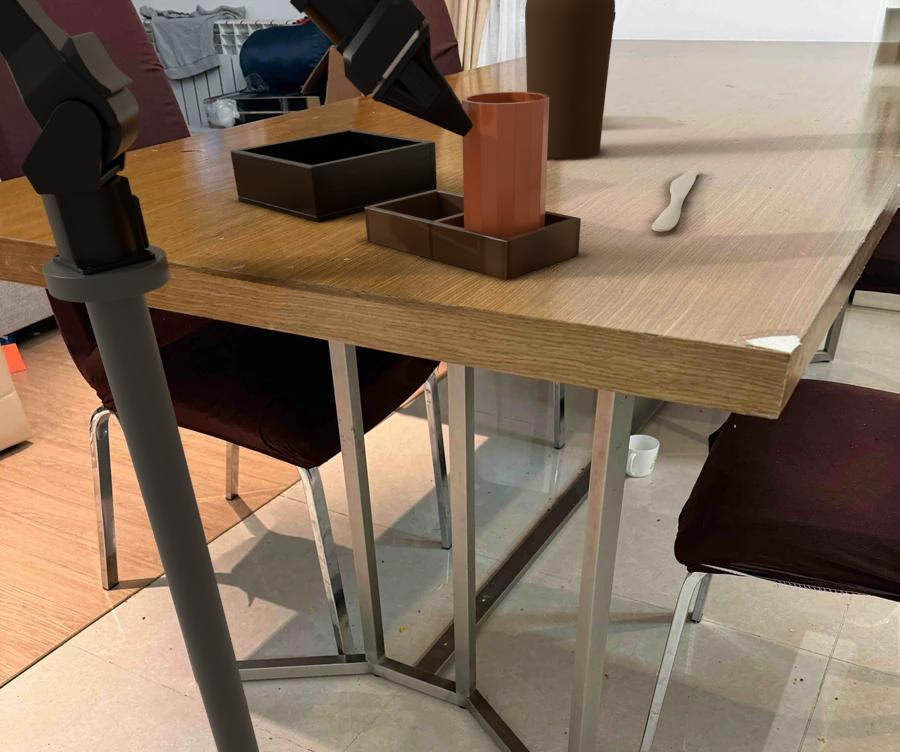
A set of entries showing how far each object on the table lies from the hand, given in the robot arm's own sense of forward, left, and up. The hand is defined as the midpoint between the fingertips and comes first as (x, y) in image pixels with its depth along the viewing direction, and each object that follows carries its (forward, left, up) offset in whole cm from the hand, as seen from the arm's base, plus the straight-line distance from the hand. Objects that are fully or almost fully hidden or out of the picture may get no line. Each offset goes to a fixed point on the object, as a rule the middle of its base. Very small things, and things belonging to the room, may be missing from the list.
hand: (463, 121), depth 67 cm
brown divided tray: (+3, +2, -10) cm, 11 cm away
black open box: (+8, +28, -10) cm, 31 cm away
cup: (+3, -2, -10) cm, 11 cm away
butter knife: (+29, -2, -10) cm, 30 cm away
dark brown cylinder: (+42, +24, -11) cm, 49 cm away
